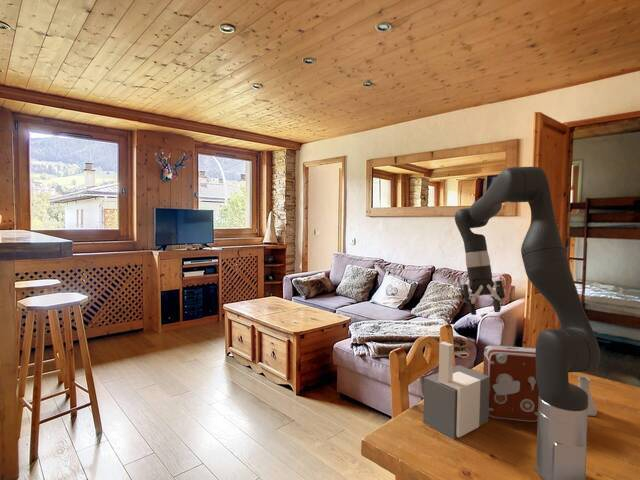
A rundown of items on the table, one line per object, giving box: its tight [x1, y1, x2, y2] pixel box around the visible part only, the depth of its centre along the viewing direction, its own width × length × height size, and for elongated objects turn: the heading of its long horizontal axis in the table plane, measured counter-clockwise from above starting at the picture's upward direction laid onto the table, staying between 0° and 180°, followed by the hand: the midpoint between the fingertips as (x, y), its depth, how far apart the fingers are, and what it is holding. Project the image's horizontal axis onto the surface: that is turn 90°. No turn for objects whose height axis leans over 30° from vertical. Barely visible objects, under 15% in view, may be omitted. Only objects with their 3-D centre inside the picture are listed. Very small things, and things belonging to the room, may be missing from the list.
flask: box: [577, 375, 598, 417], centre depth 112 cm, size 7×7×10 cm
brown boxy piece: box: [482, 344, 539, 423], centre depth 109 cm, size 9×19×20 cm, turn 78°
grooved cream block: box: [438, 341, 480, 438], centre depth 101 cm, size 9×7×23 cm
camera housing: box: [422, 364, 490, 441], centre depth 106 cm, size 20×10×13 cm, turn 125°
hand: (485, 313), depth 125 cm, fingers open, 8 cm apart
